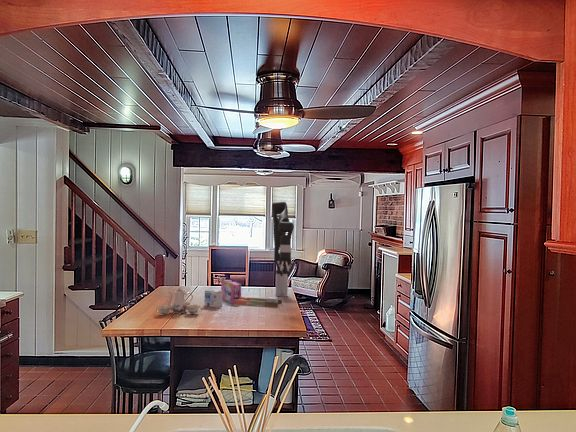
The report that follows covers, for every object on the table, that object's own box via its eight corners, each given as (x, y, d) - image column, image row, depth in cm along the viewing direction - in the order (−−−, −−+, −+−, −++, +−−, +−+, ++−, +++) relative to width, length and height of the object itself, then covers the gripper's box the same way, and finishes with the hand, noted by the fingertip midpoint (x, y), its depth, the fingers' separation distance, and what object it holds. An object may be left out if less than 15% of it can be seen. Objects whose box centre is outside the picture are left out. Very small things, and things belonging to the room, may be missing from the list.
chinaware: (155, 320, 277) (156, 293, 275) (156, 311, 293) (156, 285, 291) (202, 317, 285) (203, 291, 283) (200, 309, 300) (200, 284, 299)
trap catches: (240, 301, 325) (240, 296, 325) (251, 301, 323) (251, 297, 323) (234, 304, 315) (234, 299, 314) (246, 304, 312) (246, 300, 312)
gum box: (242, 302, 326) (242, 283, 326) (231, 303, 323) (232, 284, 322) (230, 296, 347) (230, 278, 347) (220, 297, 344) (220, 279, 344)
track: (241, 302, 327) (241, 296, 327) (282, 305, 319) (283, 299, 319) (234, 305, 313) (234, 300, 313) (277, 309, 305) (277, 303, 305)
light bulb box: (204, 305, 312) (204, 290, 312) (210, 304, 318) (210, 288, 318) (216, 307, 307) (217, 291, 307) (222, 305, 313) (222, 290, 313)
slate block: (269, 303, 317) (269, 296, 317) (277, 304, 316) (278, 297, 315) (267, 305, 311) (267, 298, 311) (275, 306, 310) (275, 298, 310)
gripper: (296, 251, 313) (296, 276, 313) (277, 250, 316) (276, 275, 316) (294, 252, 305) (293, 277, 306) (273, 251, 309) (273, 276, 309)
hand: (285, 276), depth 311 cm, fingers open, 3 cm apart
